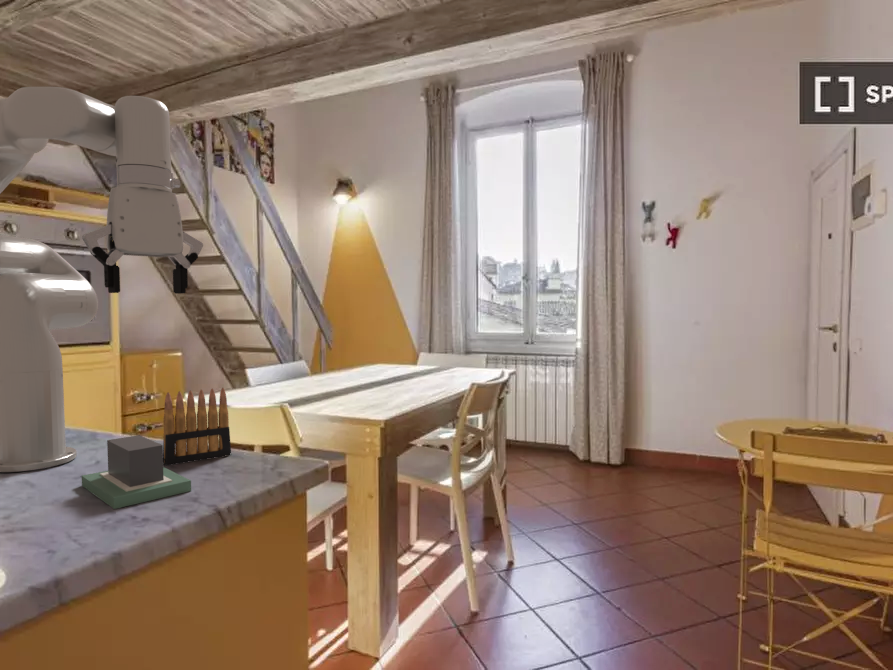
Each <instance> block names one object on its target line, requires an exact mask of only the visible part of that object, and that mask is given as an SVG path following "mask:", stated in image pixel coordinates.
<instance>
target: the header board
mask: <svg viewBox="0 0 893 670" xmlns="http://www.w3.org/2000/svg"><path fill="white" fill-rule="evenodd" d="M163 476H164V480H161V481H156V482H152V483H147V484H143V485H138V486H133V487H129V486H127V485H126V484H124V483H123V482H121V481H119V480H118V479H116V478H114V477H113V476H111V475H110V474H108V470H103V471H99V472H93V473H89V474H84V475H83V474H82V475H81V486H82V487H83V488H84V489H86V490H87V491H88V492H90V493H91V494H93V495H94V496H95V497H97V498H98V499H99V500H101V501H102V502H104V503H105V504H107V505H108V506H110V507H111V508H112V509H113V510H117V509H120V508H125V507H129V506H134V505H138V504H142V503H146V502H151V501H154V500H159V499H163V498H168V497H171V496H176V495H178V494H183V493H187V492H192V480H191V479H189V478H187V477H185V476H183V475H181V474H178V473H177V472H174V471H173V470H171V469H168V468H166V467H165V466H163Z"/></svg>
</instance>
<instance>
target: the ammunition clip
mask: <svg viewBox="0 0 893 670" xmlns="http://www.w3.org/2000/svg"><path fill="white" fill-rule="evenodd" d="M176 394H177V395H176V398H175V399H176V401H175V415H174V410H173V400H172V397H171V393H170V392H166V394H165V399H164V410H163V411H164V414H163V442H162V443H163V444H162V445H163V465H165V466H172V465H171V464H173V465H177V464H176V463H179V464H183V462H185V463H189V462H188V461H192V462H195V461H194V460H198V461H201V460H200V459H205V460H208V459H207V458H211V459H215V458H214V457H218V458H223V457H222V456H224V457H226V456H225V455H230V453H231V454H232V448H231V434H230V432H231V431H230V426H229V424H230V423H229V409H228V400H227V393H226V390H225V388H224V387H222V388H221V390H220V393H219V404H218V405H219V406H218V407H219V408H218V407H217V397H216V393H215V390H214V388H211V389H210V392H209V395H208V412H207V407H206V397H205V393H204V391H203V389H201V388H200V390H199V393H198V397H197V411H196V407H195V406H196V405H195V403H196V402H195V397H194V393H193V391H192V390H189V391H188V394H187V399H186V412H185V408H184V407H185V406H184V405H185V404H184V403H185V402H184V399H183V398H184V397H183V394H182V392H181V391H178V392H177V393H176ZM185 413H186V414H185Z"/></svg>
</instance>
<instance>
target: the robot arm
mask: <svg viewBox="0 0 893 670" xmlns="http://www.w3.org/2000/svg"><path fill="white" fill-rule="evenodd" d="M49 140H56V141H62V142H66V143H69V144H73V145H75V146H76V145H77V146H80V147H82V148H86V149H89V150H92V151H94V152H98V153H101V154H104V155H108V156H112V157H115V162H116V163H115V164H116V165H115V166H116V186H115V187H114V186H113V187H111V188H110V193H109V198H108V204H107V213H106V214H107V215H106V225H105V226H102V227H100V228H98V229H95V230H92V231H90V232H87V233H85V234H82V235H81V239H82V241H83V243H84V244H85V245H86V247H87V249H88V250H89V253H90V255H92V256H93V257H94V258H95V259H96V260H97V261H98V262H99V263H100V265H101V266H103V275H104V276H103V277H104V278H103V279H104V286H105V288H107V291H108V293H109V294H117V293H118V294H119V293H120V292H121V275H120V273H121V272H120V266H119V265H117V262H118V261H119V260H121V258H122V256H133V257H134V256H135V257H150V258H151V257H155V258H165V257H167V258H168V259H169V260H170V261H171V263H172V264H173V265H174V266H175V268H173V270H172V287H173V293H174V294H177V295H179V294H186V292H187V289H188V288H189V287H188V285H189V284H188V280H189V279H188V277H189V276H188V269H190V268H191V265H193V264H194V262H196V260H197V259H198V258H199V255H200V253H201V251H202V250H203V247H204V243H203V242H202V241H200V240H198V239H197V238H195V237H193V236H192V235H190V234H188V233H186V232H185V231H183V222H182V215H181V210H180V205H179V201H178V197H177V193H175V192H172V191H173V190H174V189H179V188H180V187H181V180H180V179H176V178H174V175H173V173H172V154H171V152H172V151H171V147H172V145H171V118H170V111H169V109H168V107H167V106H166V104H165V103H164V102H162V101H160V100H158V99H155V98H152V97H148V96H142V95H125V96H122V97H120V98H118V99H117V100H116V101H115V105H112V104H110V103H106V102H104V101H102V100H100V99H97V98H95V97H93V96H90V95H88V94H85V93H82V92H79V91H78V90H76V89H75V90H74V89H71V88H67V87H60V86H24V87H20V88H18V89H16V90H15V91H12V93H11V94H10V95H9V96H8V97H7V98H0V194H1V193H3V191H4V190H5V189H6V188H7V187H8V186H9V185H10V183H11V182H13V180H14V179H15V178H16V177H17V176H18V175H19V174H20V173H21V172H22V171H23V170H24V169H25V168H26V166H27V165H28V163H29V162H30V161H31V160H32V158H33V156H34V154H37V153H39V152H41V151H42V150H45V147H46V146H47V144H48V142H49ZM104 237H105V242H106V243H105V244H106V249H107V251H108V252H106V251H105V250H104V249H103V248H102V247H100V245H99V243H98V240H99V239H101V238H104ZM184 244H186V245H188V246H189V248H190V249H189V251H188V253H187V254H186V255H184V254H183V251H184ZM98 310H99V298H98V295H97V293H96V290H95V289H94V287H93V286H92V284H91V282H89V281H88V280H87V278H85V276H83V275H82V274H81V273H80V272H79V271H78V270H77V269H76V268H74V266H73V265H71V264H70V263H69V262H68V261H67V260H66V259H65V258H63V257H62V256H61V254H60V253H58V252H57V251H55V250H54V249H53V248H52V247H51V246H49V245H47V244H46V243H43V242H41V241H39V240H36V239H32V238H29V237H21V236H12V235H6V234H0V473H18V472H19V473H20V472H28V471H36V470H41V469H49V468H52V467H56V466H60V465H63V464H66V463H68V462H71V461H73V460H74V459H76V458H77V454H78V453H77V452H78V451H77V449H76V448H74V447H72V446H66V445H67V444H66V443H67V442H66V423H65V422H66V420H65V419H66V418H65V398H64V397H65V396H64V394H65V393H64V373H63V371H64V370H63V357H62V352H61V349H60V347H59V344H58V343H57V340H56V339H55V338H54V336H53V334H52V333H51V331H50V330H63V329H64V330H65V329H66V330H67V329H74V328H81V327H83V326H85V325H87V324H89V323H90V322H91V321H92V320H93V319H94V318H95V317H96V315H97V313H98Z"/></svg>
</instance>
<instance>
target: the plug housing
mask: <svg viewBox="0 0 893 670" xmlns="http://www.w3.org/2000/svg"><path fill="white" fill-rule="evenodd" d="M106 443H107V445H106V446H107V471H108V474H110V475H111V476H113V477H114V478H116V479H118V480H119V481H121V482H123V483H124V484H126V485H127V486H129V487H133V486H138V485H143V484H147V483H152V482H156V481H161V480H164V476H163V467H164V463H163V444H161V443H159V442H156V441H154V440H152V439H149V438H147V437H145V436H143V435H137V434H136V435H131V436H125V437H119V438H118V437H117V438H112V439H107V441H106Z"/></svg>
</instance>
